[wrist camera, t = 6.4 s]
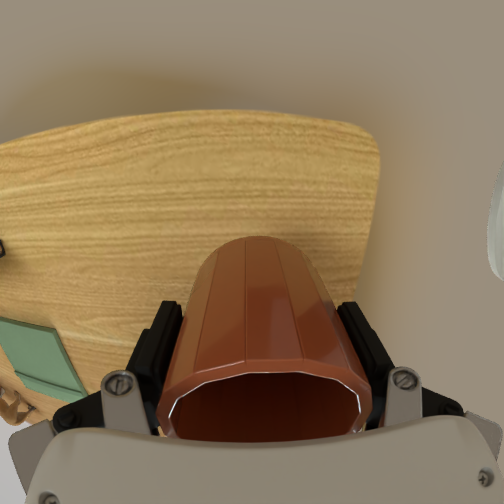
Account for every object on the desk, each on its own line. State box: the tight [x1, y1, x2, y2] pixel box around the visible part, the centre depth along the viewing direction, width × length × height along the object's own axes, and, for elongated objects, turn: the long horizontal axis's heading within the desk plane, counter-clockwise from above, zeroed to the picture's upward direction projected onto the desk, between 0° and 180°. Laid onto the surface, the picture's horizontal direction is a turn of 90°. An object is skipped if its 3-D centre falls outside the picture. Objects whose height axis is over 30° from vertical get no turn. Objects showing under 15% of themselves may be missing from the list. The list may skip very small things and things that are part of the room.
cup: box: [155, 236, 373, 443], centre depth 11 cm, size 6×6×8 cm
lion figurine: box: [0, 388, 36, 426], centre depth 26 cm, size 15×5×9 cm, turn 82°
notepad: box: [0, 317, 88, 403], centre depth 26 cm, size 14×14×1 cm
